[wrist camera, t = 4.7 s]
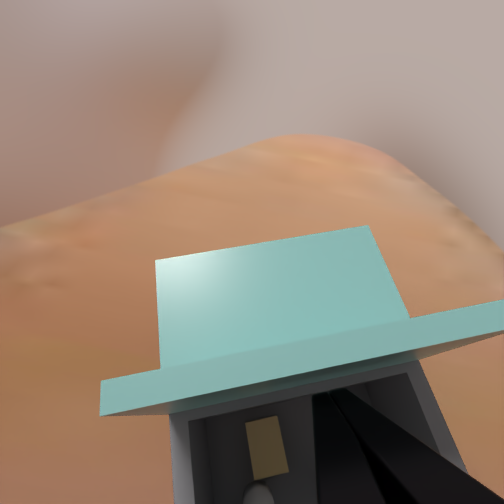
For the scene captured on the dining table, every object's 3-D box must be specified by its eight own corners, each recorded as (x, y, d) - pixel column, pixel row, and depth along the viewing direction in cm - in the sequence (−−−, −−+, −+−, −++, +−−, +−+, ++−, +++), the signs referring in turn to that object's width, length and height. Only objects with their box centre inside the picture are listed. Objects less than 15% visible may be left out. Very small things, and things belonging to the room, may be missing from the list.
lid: (417, 360, 11) (540, 321, 6) (168, 414, 10) (99, 416, 5) (362, 233, 13) (421, 140, 9) (159, 267, 12) (108, 184, 8)
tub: (417, 511, 13) (508, 564, 8) (207, 569, 12) (183, 663, 7) (334, 278, 18) (363, 233, 13) (183, 305, 17) (160, 267, 12)
